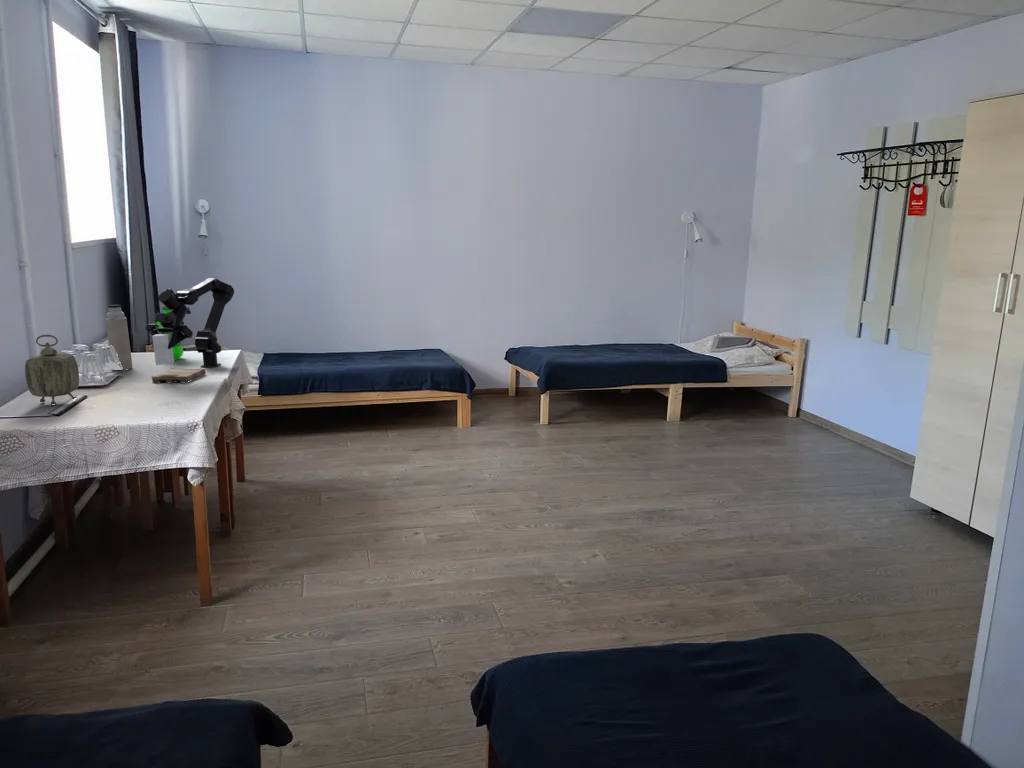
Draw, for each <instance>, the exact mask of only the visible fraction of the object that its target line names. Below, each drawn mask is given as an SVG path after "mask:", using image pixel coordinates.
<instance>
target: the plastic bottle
mask: <svg viewBox="0 0 1024 768" xmlns="http://www.w3.org/2000/svg"><path fill="white" fill-rule="evenodd" d="M161 307H162V311H163V313H165V314H168V312H170V311H171V310H168V309H167V308H166V307H165V306H164V305H163V304H162V305H161ZM156 324H157V325H158V326H159V327H161V328H163V326H161V325H160V322H158V321H156ZM163 334H171V338H172V333H163ZM172 349H173V357H174V359H178V358H179V359H181V358H182V356H183V355H184V348H183V346H182V345H181V342H179V343H178V344H176V345H175V346H174V347H172ZM179 359H178V360H179Z"/></svg>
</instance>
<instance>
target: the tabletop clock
mask: <svg viewBox="0 0 1024 768" xmlns="http://www.w3.org/2000/svg"><path fill="white" fill-rule="evenodd" d="M46 337H48V338H52V339H54V340H55V342H54V343H52V344H50V342H46V343H45V344H40V343H39V342H38V340H39V339H41V338H46ZM58 342H59V340H58V338H57V337H56V336H55V335H52V334H41V335H39V336H38V337H36V339H35V343H36V344H37V345H38V346H40V347H44V348H42V349H41V351H40V354H38V355H35V356H33V357H31V358H29V359H26V360H25V364H24V372H25V374H24V375H25V381H26V384H27V388H28V391H29V392H30V394H31V395H32V396H35V397H40V399H39V402H40V403H41V402H44V403H45V402H46V399H45V398H46V397H47V398H51V402H50V405H51V406H52V404H56V405H57V402H56V401H55V397H62V396H67V395H68V396H69V397H70V398H72V399H74V398H77V397H76V396H73V394H72V392H74V391H76V390H77V389H78V388H79V386H80V385H79V384H80V371H79V366H78V363H77V360H76V358H75V356H74V355H73V354H71V353H67V352H58V351H57V350H56V349H55V348H54V346H56V345H57V344H58Z"/></svg>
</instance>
